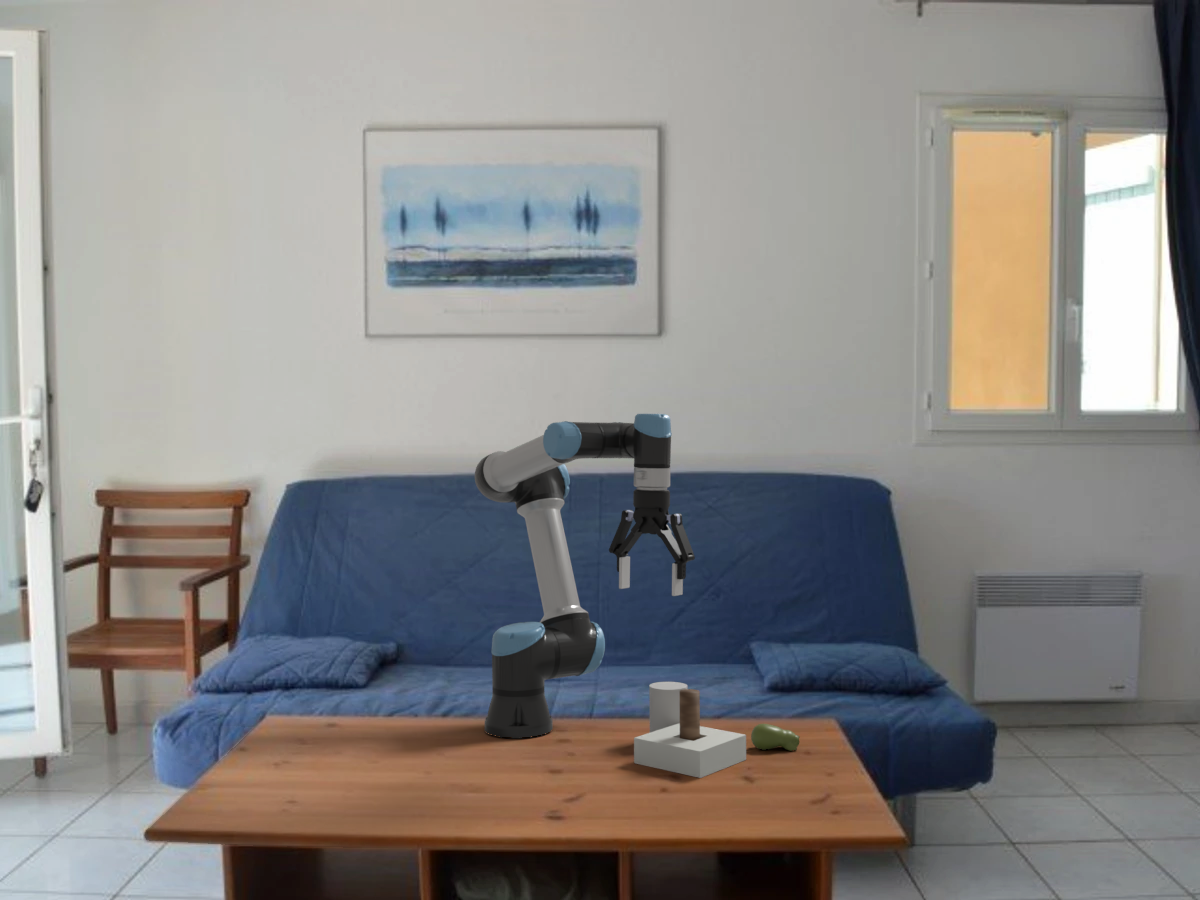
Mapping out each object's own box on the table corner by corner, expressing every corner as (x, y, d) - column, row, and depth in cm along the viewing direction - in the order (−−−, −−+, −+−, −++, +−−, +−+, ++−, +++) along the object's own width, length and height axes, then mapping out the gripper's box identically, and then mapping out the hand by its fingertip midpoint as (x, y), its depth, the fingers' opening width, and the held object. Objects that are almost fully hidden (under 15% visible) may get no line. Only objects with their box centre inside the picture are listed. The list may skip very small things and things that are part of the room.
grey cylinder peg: (688, 737, 237) (687, 681, 237) (687, 747, 229) (687, 690, 229) (650, 736, 237) (650, 681, 237) (648, 746, 229) (648, 689, 229)
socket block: (634, 763, 217) (633, 737, 217) (681, 746, 229) (681, 722, 229) (700, 778, 207) (700, 751, 207) (746, 759, 219) (746, 734, 219)
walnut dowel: (675, 761, 218) (675, 691, 218) (687, 757, 221) (687, 688, 221) (692, 765, 215) (691, 694, 215) (703, 761, 218) (703, 690, 218)
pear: (751, 719, 230) (798, 726, 230) (747, 743, 230) (794, 751, 230) (755, 725, 224) (803, 733, 224) (751, 751, 224) (799, 758, 224)
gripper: (593, 486, 229) (592, 587, 230) (691, 492, 213) (689, 600, 214) (615, 485, 235) (614, 583, 236) (712, 490, 219) (711, 596, 220)
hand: (650, 591), depth 225 cm, fingers open, 13 cm apart
